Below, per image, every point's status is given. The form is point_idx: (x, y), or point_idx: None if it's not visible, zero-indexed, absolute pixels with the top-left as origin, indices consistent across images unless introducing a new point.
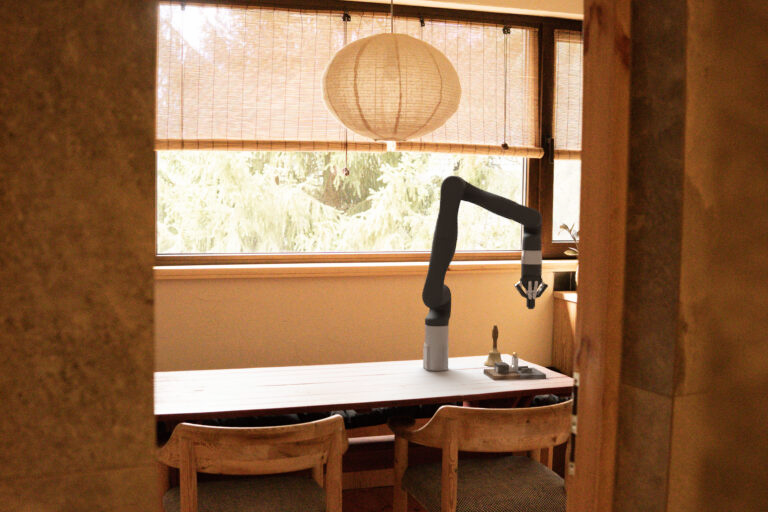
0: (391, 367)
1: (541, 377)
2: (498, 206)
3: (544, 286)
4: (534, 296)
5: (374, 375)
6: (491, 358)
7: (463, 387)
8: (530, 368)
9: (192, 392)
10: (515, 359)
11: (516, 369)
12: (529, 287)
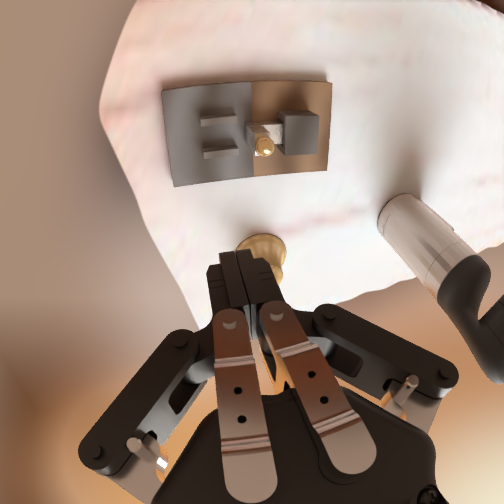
0: None
1: (177, 88)
2: None
3: (118, 444)
4: (229, 330)
5: (489, 175)
6: (276, 257)
7: (414, 36)
8: (205, 120)
9: None
10: (263, 131)
11: (251, 123)
12: (330, 396)
